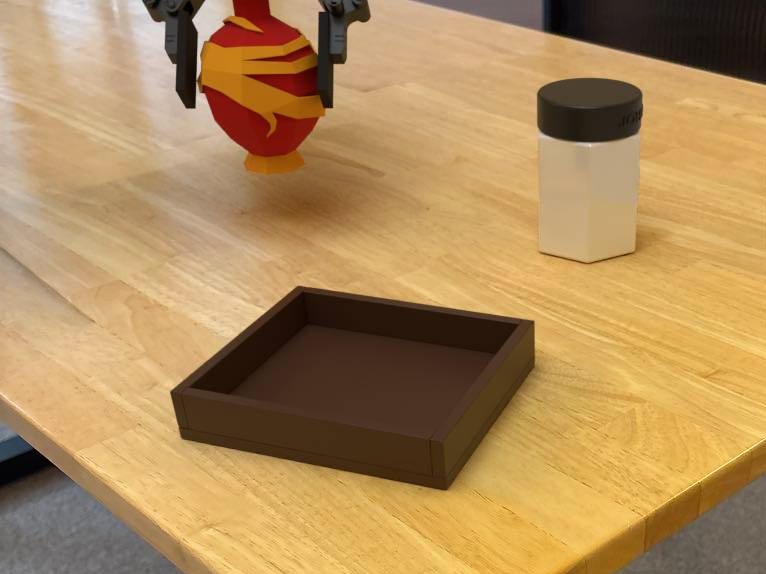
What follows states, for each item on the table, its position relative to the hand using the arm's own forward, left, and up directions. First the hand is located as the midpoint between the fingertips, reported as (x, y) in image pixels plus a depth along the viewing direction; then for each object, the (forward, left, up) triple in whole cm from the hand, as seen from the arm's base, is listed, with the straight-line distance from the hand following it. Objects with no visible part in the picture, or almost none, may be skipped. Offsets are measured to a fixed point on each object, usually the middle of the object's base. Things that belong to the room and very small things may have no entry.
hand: (255, 99), depth 84 cm
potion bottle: (-1, +3, -6) cm, 7 cm away
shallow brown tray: (+19, -22, -11) cm, 31 cm away
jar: (+25, +7, -11) cm, 28 cm away
